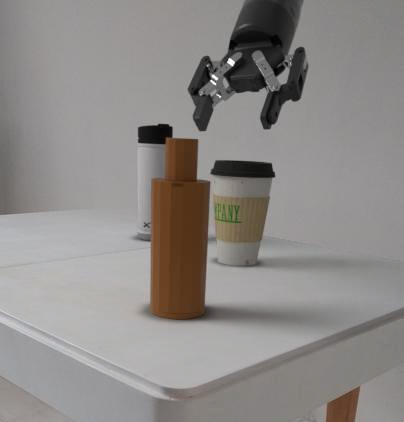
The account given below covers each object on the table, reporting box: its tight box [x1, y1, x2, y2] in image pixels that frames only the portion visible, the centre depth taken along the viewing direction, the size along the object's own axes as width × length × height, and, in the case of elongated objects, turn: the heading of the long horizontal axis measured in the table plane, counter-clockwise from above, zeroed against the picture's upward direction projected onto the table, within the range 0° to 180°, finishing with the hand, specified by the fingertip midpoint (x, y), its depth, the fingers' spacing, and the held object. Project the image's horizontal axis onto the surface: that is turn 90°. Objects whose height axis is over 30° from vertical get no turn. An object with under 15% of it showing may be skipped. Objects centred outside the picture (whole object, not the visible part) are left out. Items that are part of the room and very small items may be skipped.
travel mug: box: [137, 123, 174, 242], centre depth 103 cm, size 6×7×20 cm
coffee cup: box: [209, 159, 276, 267], centre depth 87 cm, size 10×10×15 cm
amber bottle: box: [149, 137, 211, 320], centre depth 60 cm, size 6×6×18 cm
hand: (230, 125), depth 67 cm, fingers open, 8 cm apart
